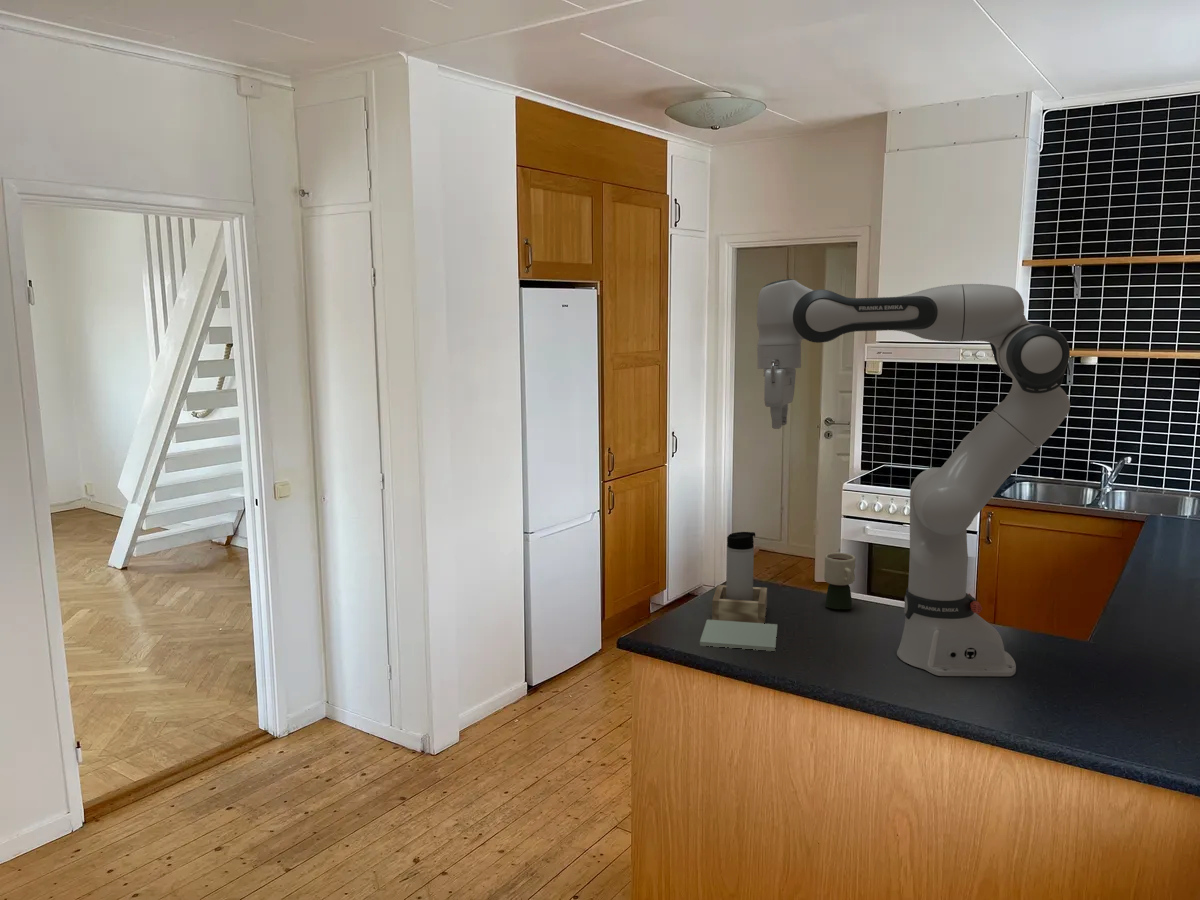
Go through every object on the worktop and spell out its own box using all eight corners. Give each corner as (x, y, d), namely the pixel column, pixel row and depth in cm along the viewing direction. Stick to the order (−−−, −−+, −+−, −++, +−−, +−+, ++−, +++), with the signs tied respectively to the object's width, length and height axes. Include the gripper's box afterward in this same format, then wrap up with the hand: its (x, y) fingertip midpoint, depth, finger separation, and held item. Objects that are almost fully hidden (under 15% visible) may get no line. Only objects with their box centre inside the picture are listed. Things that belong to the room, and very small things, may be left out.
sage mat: (777, 628, 198) (777, 624, 198) (775, 651, 184) (775, 647, 184) (706, 623, 201) (706, 619, 201) (699, 646, 188) (699, 641, 188)
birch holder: (766, 607, 212) (767, 587, 211) (764, 624, 200) (764, 603, 200) (717, 604, 215) (717, 584, 214) (712, 620, 203) (712, 600, 202)
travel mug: (753, 619, 204) (755, 536, 201) (725, 617, 205) (726, 535, 202) (754, 610, 210) (755, 529, 207) (726, 609, 211) (727, 528, 208)
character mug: (862, 614, 206) (864, 561, 204) (834, 616, 205) (836, 563, 203) (842, 600, 217) (843, 549, 215) (815, 602, 216) (816, 551, 214)
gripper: (789, 359, 169) (789, 430, 170) (799, 359, 188) (799, 423, 189) (756, 360, 171) (757, 430, 172) (769, 360, 190) (770, 423, 191)
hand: (779, 426), depth 181 cm, fingers open, 8 cm apart
